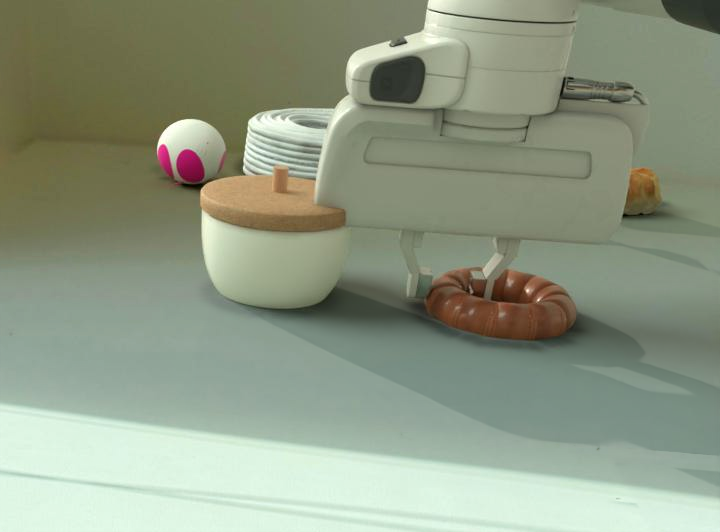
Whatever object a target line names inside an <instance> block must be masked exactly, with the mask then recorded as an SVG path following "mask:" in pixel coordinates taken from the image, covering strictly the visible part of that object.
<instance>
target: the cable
mask: <svg viewBox="0 0 720 532" xmlns="http://www.w3.org/2000/svg"><path fill="white" fill-rule="evenodd" d="M334 109H335V108H320V107H319V108H316V107H315V108H314V107H306V108H305V107H294V108H293V107H291V108H283V109H273V110H272V109H271V110H267V111H261V112H259V113H257V114H255V115H254V116H252V117H251V118H249V120H248V121H247V133H246V139H245V145H244V154H243V155H244V156H243V160H242V161H243V166H242V171H243V173H244V175H272V176H273V169H274V166H286V167H289V173H288V177H295V178H303V179H308V180H314V181H316V176H317V170H318V165H319V159H320V155H321V150H322V145H323V141H324V137H325V133H326V130H327V126H328V123H329V120H330V117H331V115H332V113H333V111H334Z"/></svg>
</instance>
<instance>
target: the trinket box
mask: <svg viewBox="0 0 720 532" xmlns="http://www.w3.org/2000/svg"><path fill="white" fill-rule="evenodd" d="M288 173H289V167H286V166H274V169H273V176H272V175H246V174H244V175H235V176H227V177H222V178H217V179H214V180H211V181H208V182H206V184H204V185H203V187H201V189H200V194H199V195H200V197H199V200H200V201H199V202H200V203H199V205H200V207H201V231H200V232H201V246H202V253H203V259H204V265H205V267H206V270H207V273H208V276H209V278H210V280H211V282H212V284H213V286H214V288H215V289H216V290H217V292H218V293H220V295H222V296H223V297H224V298H227V299H229V300H230V301H232V302H236V303H239V304H243V305H246V306H250V307H256V308H264V309H273V310H274V309H275V310H276V309H277V310H281V309H282V310H284V309H285V310H287V309H288V310H290V309H300V308H301V309H302V308H307V307H312V306H314V305H317V304H319V303H321V302H322V301H324V300H325V299H326V298H327V297H328V296H329V295H330V294H331V292H332V291H333V290H334V288H335V287H336V285H337V283H338V281H339V280H340V278H341V276H342V274H343V272H344V271H343V270H344V268H345V266H346V265H345V264H346V262H347V258H348V254H349V250H350V246H351V239H352V233H353V227H346V226H344V225H346V212H345V210H343V209H339V208H332V207H325V206H319V205H316V204H314V191H315V183H316V181H314V180H308V179H303V178H295V177H288Z"/></svg>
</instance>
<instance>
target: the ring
mask: <svg viewBox="0 0 720 532" xmlns="http://www.w3.org/2000/svg"><path fill="white" fill-rule="evenodd" d="M484 267H485V266H475V267H466V268H458V269H451V270H448V271H447V272H445V273H442V274H441V275H440V276H438V277H436V278H434V279H432V284H431V286H430V287H429V289H430V295H429V299H423V301H424V302H423V303H424V306H425V308H426V309H425V310H426V312H427V313H428V314H429V315H430V316H432V317H433V318H435V319H437V320H438V321H439V322H442V323H444V324H445V325H446V326H449V327H451V328H454V329H457V330H460V331H464V332H469V333H472V334H476V335H480V336H483V337H488V338H495V339H507V340H519V341H521V340H522V341H536V340H542V339H549V338H556V337H560V336H562V335H563V334H565V333H566V332H567V331H568V330H570V328H572V327H573V326H574V324H575V322H576V320H577V315H578V312H577V311H578V310H577V306H576V303H575V301H574V300H573V298H572V296H571V295H570V293H569V292H568V291H567V290H566V289H565V288H564V287H563V286H562V285H560V284H558V283H555V282H553V281H551V280H549V279H547V278H544V277H542V276H540V275H536V274H532V273H528V272H524V271H519V270H515V269H511V268H506V270H505V271H504V272H503V273H502V274H501V275H500V277H499V278H498V279H497V280H495V281H494V286H493V290H492V295H491V299H490V300H488V299H484V298H480V297H476V296H473V295H471V294H469V293H467V292H466V290H467V286H468V285H469V284H470V283H469V275H470V271H482V270H483V269H484Z"/></svg>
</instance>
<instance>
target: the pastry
mask: <svg viewBox="0 0 720 532" xmlns="http://www.w3.org/2000/svg"><path fill="white" fill-rule="evenodd" d="M658 176H659V175H657V174H656V172H654V171H653V170H652V169H651V168H648V167H645V166H643V167H636V168H633V167H631V172H630V180H629V186H628V192H627V197H626V202H625V207H624V211H623V215H628V216H635V215H636V216H637V215H639V214H643V215H649V214H651V213H653V212H654V211H655V210H656V209H657V208H658V207H660V206H661V204H662V201H663V197H662V194H661V190H662V189H661V187H660V183H659V177H658Z"/></svg>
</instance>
